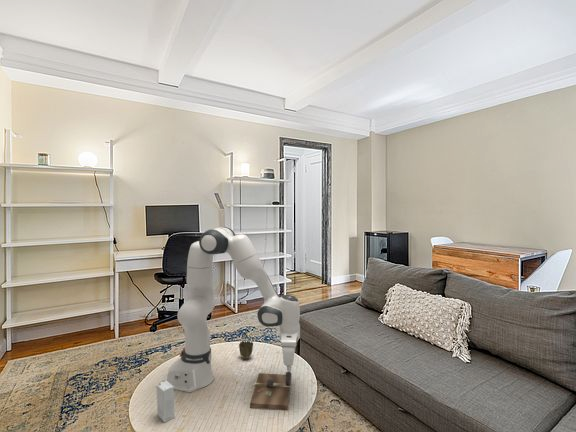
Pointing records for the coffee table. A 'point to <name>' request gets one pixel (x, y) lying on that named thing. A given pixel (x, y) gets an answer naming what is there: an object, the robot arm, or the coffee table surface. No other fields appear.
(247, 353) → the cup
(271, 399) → the board
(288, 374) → the tuning crank
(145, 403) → the coffee table surface
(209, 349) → the robot arm
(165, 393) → the skincare box
